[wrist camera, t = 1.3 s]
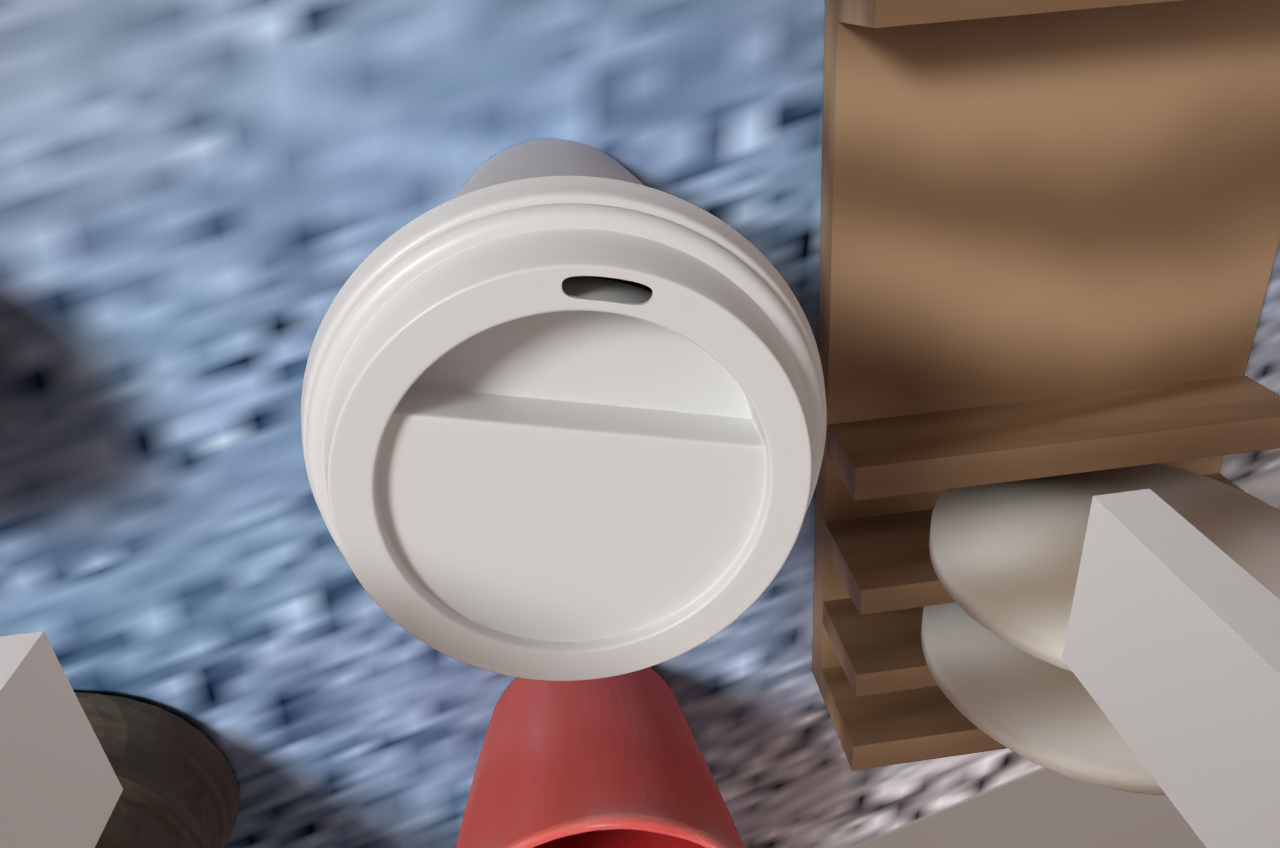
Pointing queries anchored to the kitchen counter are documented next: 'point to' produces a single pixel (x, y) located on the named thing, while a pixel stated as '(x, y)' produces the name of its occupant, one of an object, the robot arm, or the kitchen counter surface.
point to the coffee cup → (564, 420)
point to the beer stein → (161, 777)
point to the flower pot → (593, 770)
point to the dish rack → (1028, 344)
